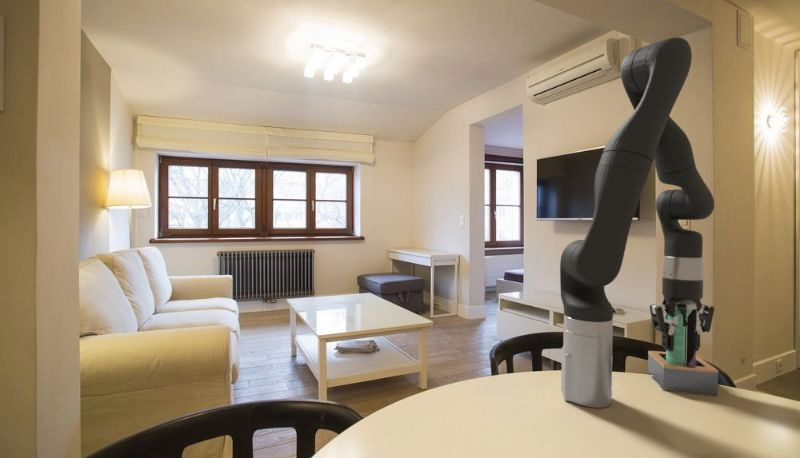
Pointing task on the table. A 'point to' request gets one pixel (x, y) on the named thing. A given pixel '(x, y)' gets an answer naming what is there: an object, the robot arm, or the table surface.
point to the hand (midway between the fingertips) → (680, 349)
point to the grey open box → (683, 375)
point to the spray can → (684, 334)
